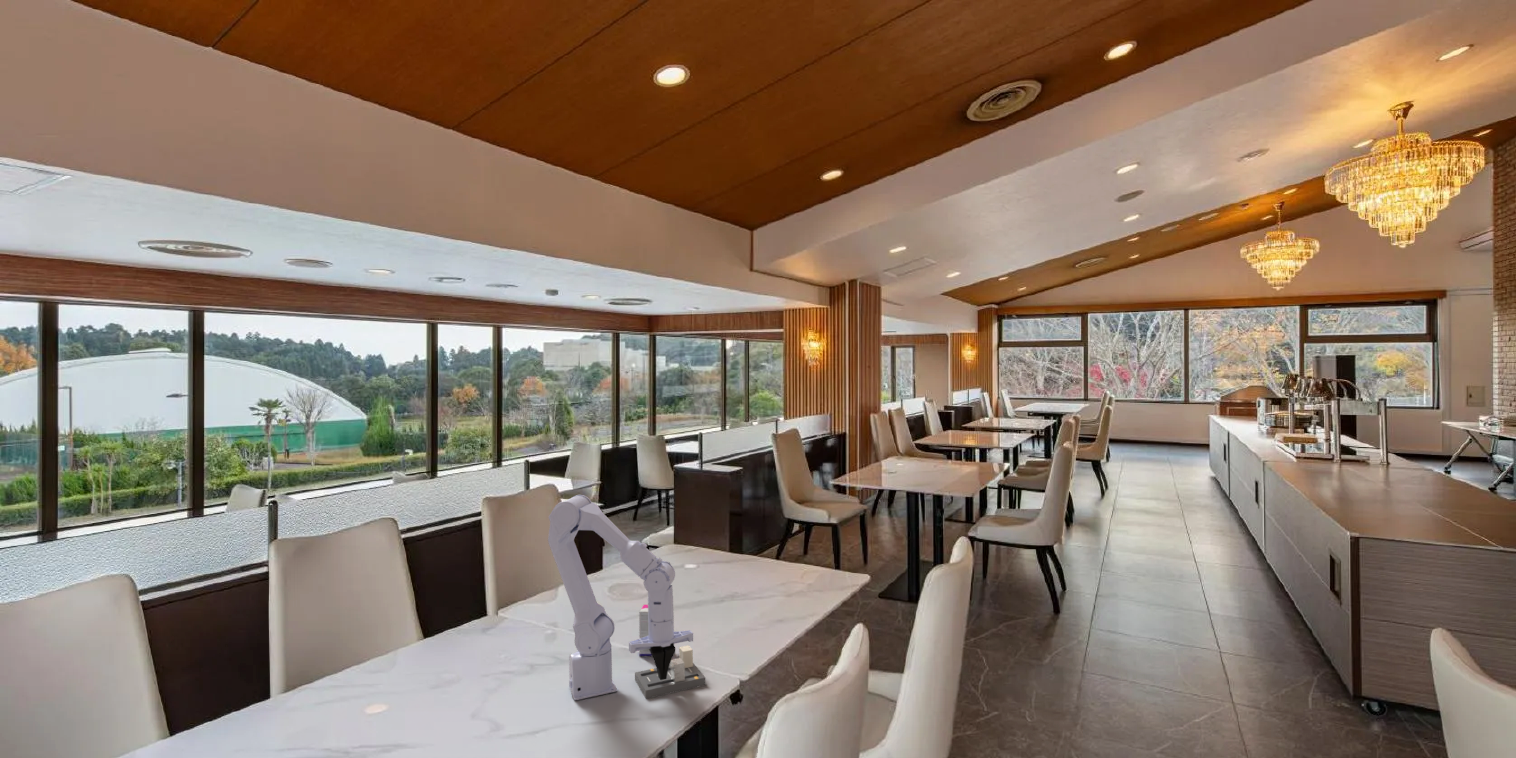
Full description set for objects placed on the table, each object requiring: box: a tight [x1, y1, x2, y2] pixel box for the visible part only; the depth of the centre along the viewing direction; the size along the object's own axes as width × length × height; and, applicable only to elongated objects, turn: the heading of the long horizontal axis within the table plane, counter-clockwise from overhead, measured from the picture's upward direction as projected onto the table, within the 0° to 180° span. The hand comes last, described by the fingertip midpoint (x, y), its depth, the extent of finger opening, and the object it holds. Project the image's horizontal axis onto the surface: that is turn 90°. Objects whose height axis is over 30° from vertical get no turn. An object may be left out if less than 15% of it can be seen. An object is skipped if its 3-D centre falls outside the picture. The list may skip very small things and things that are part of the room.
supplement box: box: [638, 604, 652, 657], centre depth 169 cm, size 6×6×12 cm
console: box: [634, 662, 707, 700], centre depth 152 cm, size 14×10×2 cm
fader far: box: [678, 645, 694, 668], centre depth 157 cm, size 2×3×5 cm
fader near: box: [670, 657, 685, 683], centre depth 149 cm, size 2×3×5 cm
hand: (662, 677), depth 148 cm, fingers closed
